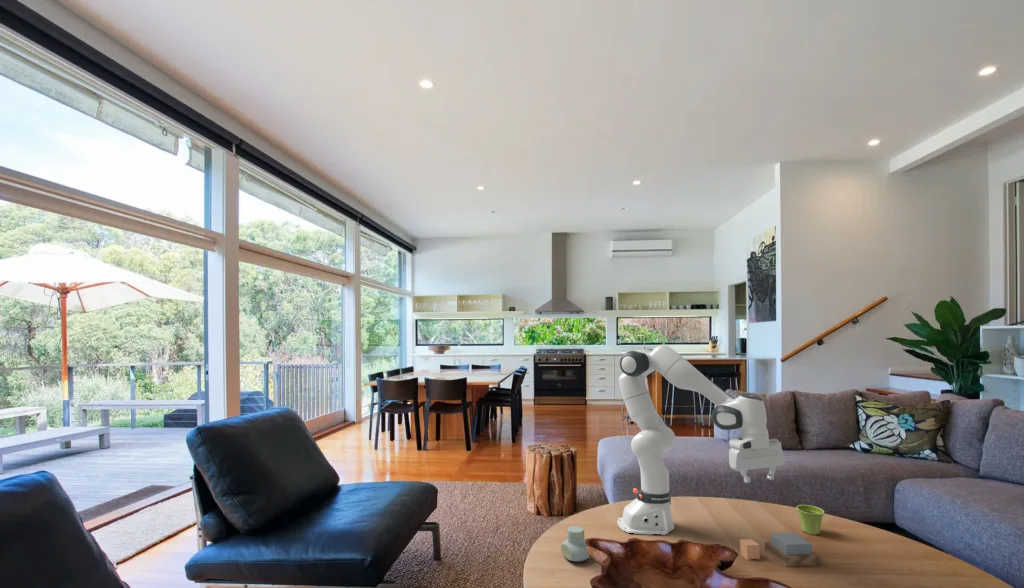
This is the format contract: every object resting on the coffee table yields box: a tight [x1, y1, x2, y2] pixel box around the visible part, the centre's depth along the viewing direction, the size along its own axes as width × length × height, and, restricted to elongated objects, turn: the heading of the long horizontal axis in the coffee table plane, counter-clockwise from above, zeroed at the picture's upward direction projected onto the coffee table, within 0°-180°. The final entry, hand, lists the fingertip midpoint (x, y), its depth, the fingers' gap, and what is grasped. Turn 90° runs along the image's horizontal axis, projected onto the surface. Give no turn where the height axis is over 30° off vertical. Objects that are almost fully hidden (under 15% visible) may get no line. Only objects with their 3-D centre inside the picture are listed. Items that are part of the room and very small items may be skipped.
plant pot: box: [796, 504, 825, 536], centre depth 192 cm, size 9×9×9 cm
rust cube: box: [739, 538, 761, 561], centre depth 173 cm, size 4×4×5 cm
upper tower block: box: [770, 532, 813, 555], centre depth 172 cm, size 9×9×4 cm
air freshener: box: [560, 525, 591, 563], centre depth 173 cm, size 11×8×10 cm
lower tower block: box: [764, 541, 821, 568], centre depth 172 cm, size 12×12×4 cm
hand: (759, 480), depth 173 cm, fingers open, 8 cm apart
